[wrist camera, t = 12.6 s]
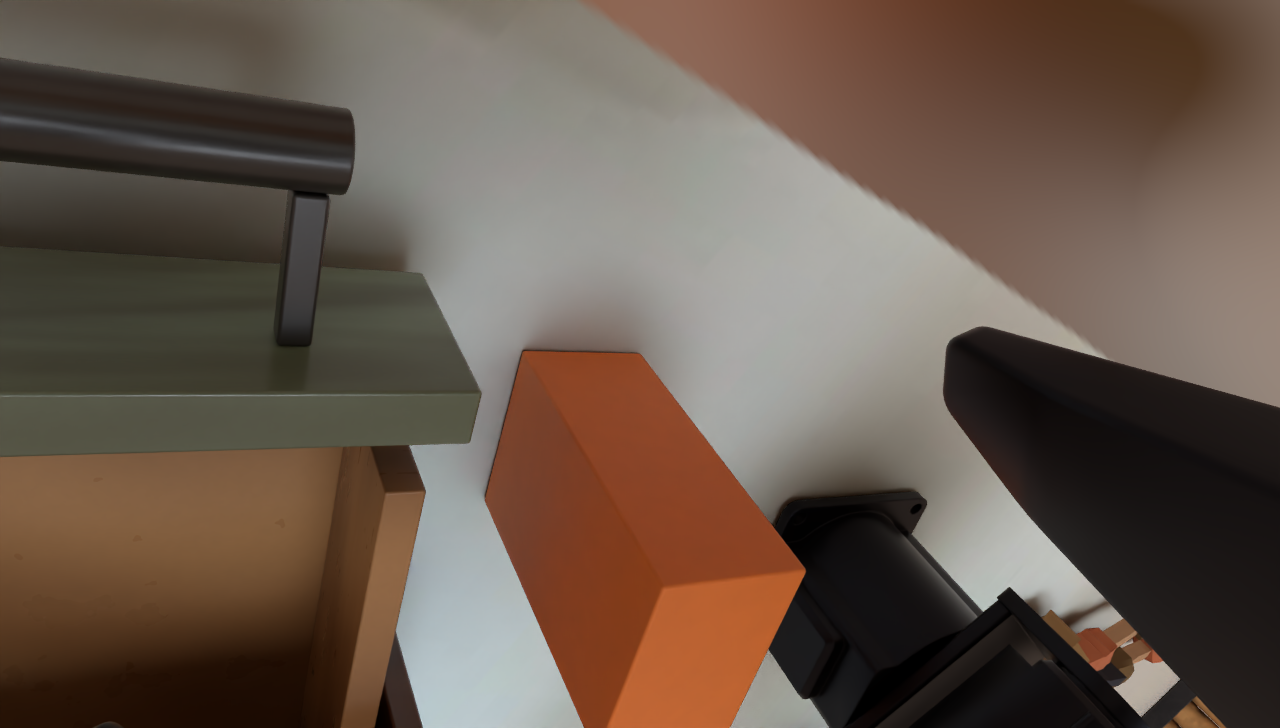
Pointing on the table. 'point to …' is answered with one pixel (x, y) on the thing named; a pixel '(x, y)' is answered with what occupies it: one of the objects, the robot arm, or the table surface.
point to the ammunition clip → (1180, 711)
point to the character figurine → (1106, 648)
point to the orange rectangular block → (634, 544)
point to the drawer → (206, 431)
